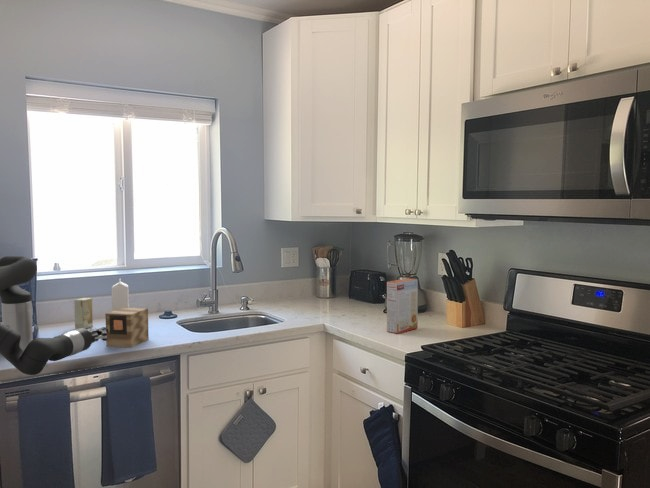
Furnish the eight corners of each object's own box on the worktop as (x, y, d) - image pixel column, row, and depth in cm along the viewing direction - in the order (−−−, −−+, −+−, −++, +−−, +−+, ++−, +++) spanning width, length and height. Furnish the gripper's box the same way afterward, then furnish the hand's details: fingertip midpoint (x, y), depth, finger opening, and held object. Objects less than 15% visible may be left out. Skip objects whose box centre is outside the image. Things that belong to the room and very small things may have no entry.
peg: (122, 330, 195) (122, 320, 195) (113, 329, 196) (113, 319, 196) (140, 323, 207) (140, 313, 207) (132, 322, 208) (131, 313, 208)
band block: (131, 347, 195) (130, 314, 194) (106, 346, 197) (105, 313, 196) (148, 339, 207) (147, 308, 206) (124, 338, 209) (124, 307, 208)
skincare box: (83, 329, 223) (82, 300, 222) (74, 329, 224) (73, 299, 223) (93, 326, 229) (92, 297, 228) (84, 325, 230) (83, 297, 229)
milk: (112, 335, 214) (110, 279, 212) (114, 331, 220) (112, 277, 218) (129, 334, 216) (127, 279, 214) (130, 330, 221) (128, 277, 220)
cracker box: (406, 326, 230) (407, 277, 229) (418, 328, 226) (418, 279, 224) (385, 331, 220) (386, 280, 219) (397, 334, 216) (397, 282, 215)
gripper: (91, 331, 170) (122, 320, 187) (54, 329, 173) (88, 318, 189) (92, 355, 170) (123, 341, 187) (55, 352, 173) (89, 339, 190)
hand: (105, 329), depth 188 cm, fingers closed
